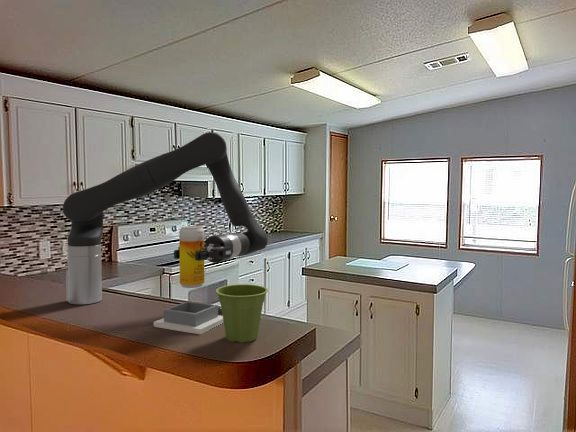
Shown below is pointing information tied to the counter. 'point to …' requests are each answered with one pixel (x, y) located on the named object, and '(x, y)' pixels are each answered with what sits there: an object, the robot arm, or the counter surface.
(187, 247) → the beer can
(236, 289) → the plant pot
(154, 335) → the counter surface
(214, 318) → the dock
